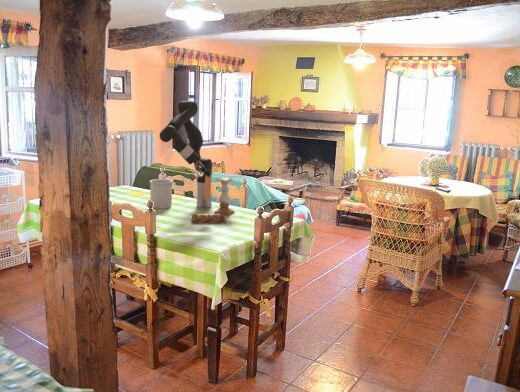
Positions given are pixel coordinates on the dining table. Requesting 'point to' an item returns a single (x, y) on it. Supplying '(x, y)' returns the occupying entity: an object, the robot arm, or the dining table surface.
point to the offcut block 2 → (214, 215)
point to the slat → (207, 187)
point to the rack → (207, 220)
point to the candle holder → (224, 198)
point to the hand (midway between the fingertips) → (209, 175)
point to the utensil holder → (161, 193)
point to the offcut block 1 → (202, 215)
